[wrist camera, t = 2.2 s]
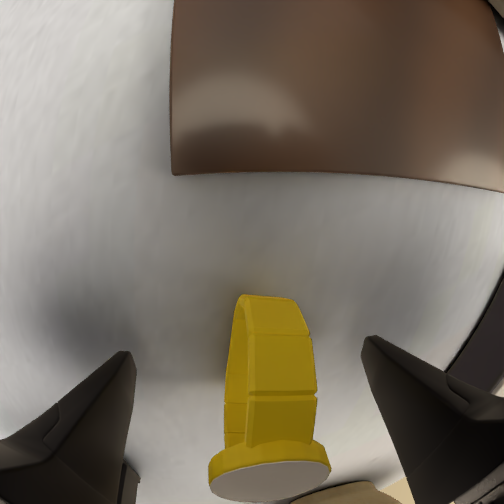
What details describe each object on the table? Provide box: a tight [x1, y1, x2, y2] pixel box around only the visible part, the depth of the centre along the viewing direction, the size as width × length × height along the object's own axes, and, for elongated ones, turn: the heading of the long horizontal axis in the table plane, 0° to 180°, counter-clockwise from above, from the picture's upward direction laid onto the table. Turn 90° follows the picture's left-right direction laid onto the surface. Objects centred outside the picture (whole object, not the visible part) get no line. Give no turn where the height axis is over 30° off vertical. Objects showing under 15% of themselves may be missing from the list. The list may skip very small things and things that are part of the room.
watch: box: [208, 294, 331, 502], centre depth 7 cm, size 6×3×6 cm, turn 171°
